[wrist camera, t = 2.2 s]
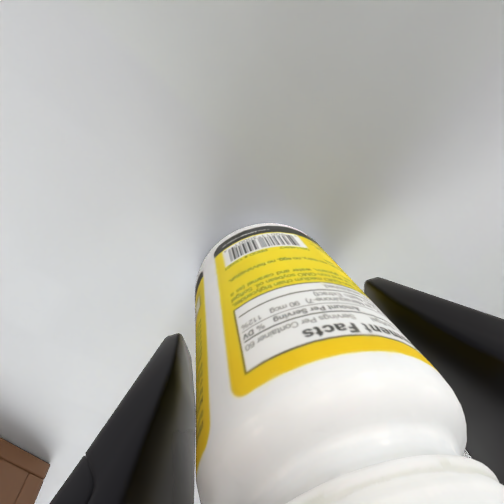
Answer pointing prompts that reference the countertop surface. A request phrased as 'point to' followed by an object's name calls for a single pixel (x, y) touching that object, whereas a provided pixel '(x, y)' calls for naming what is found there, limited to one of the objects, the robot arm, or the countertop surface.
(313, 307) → the supplement bottle
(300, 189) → the countertop surface
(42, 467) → the tray
